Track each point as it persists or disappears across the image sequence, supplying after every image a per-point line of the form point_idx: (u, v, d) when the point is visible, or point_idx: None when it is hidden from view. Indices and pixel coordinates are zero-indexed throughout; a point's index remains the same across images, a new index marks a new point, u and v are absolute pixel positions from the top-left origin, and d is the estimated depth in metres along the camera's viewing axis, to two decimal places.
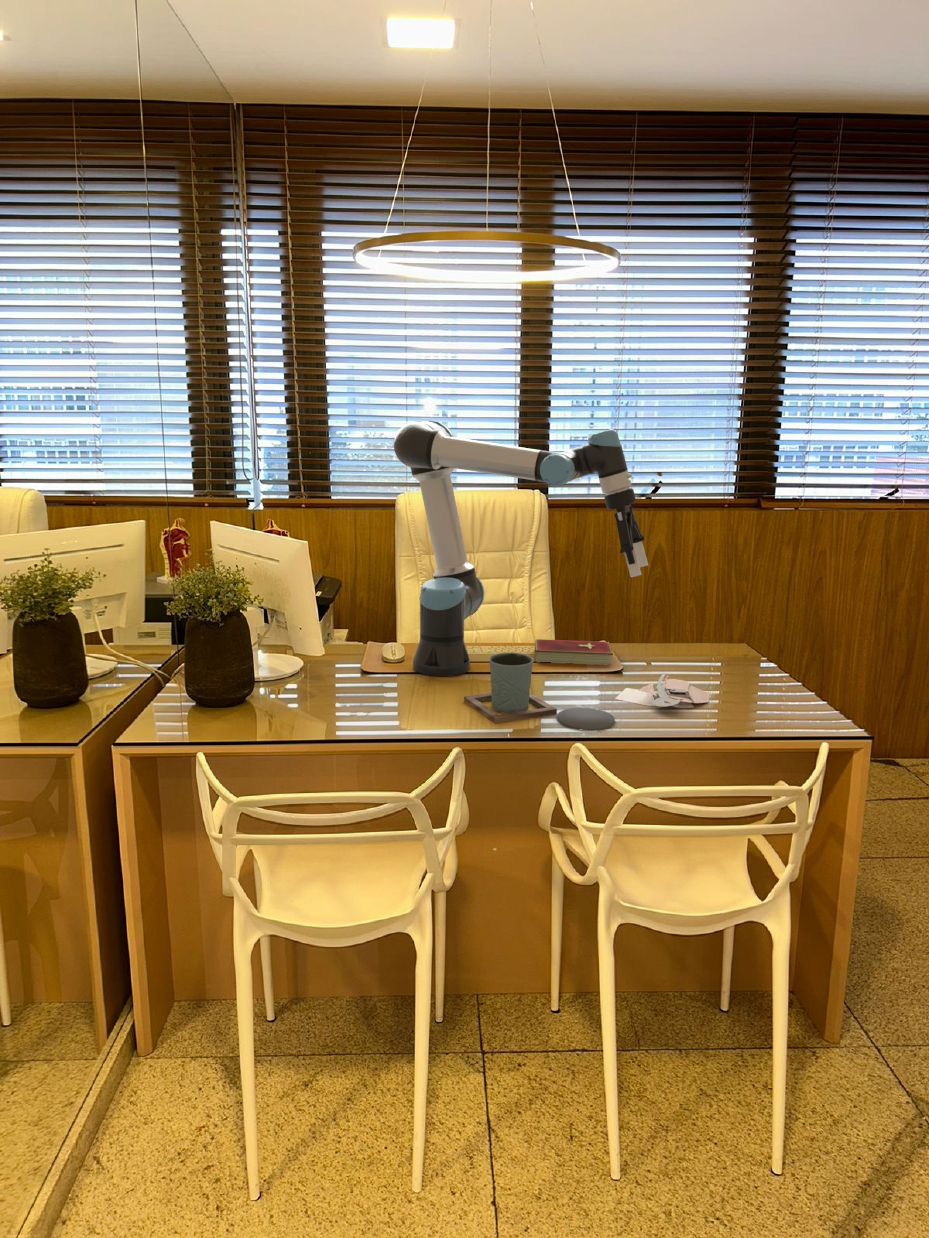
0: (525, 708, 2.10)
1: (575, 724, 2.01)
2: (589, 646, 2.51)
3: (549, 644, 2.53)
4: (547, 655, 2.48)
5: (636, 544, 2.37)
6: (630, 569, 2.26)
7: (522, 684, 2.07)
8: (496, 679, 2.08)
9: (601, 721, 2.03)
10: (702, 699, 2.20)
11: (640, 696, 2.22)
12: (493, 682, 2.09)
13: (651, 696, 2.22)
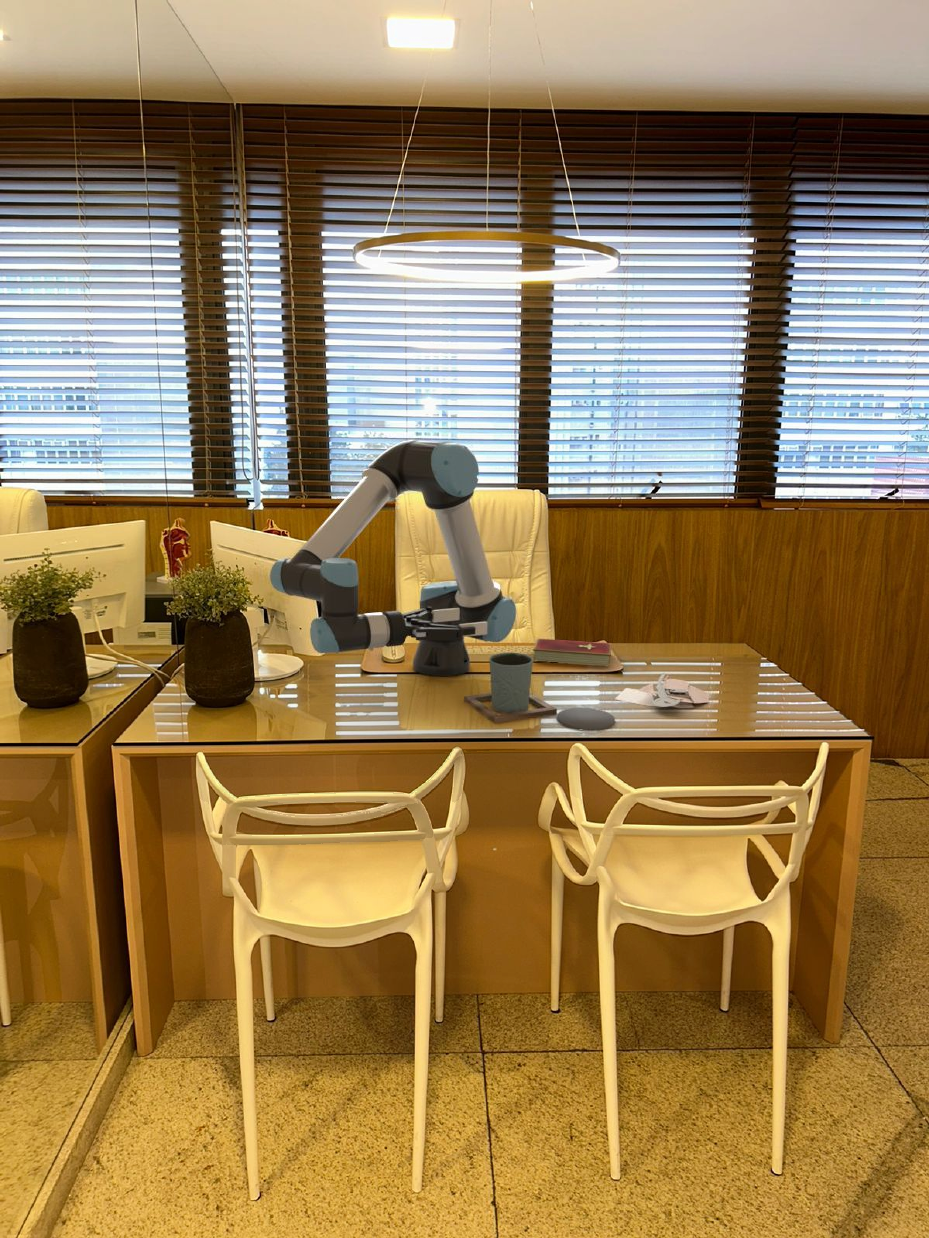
0: (525, 708, 2.10)
1: (575, 724, 2.01)
2: (589, 647, 2.50)
3: (549, 644, 2.53)
4: (545, 654, 2.48)
5: None
6: None
7: (522, 684, 2.07)
8: (496, 679, 2.08)
9: (601, 721, 2.03)
10: (702, 699, 2.20)
11: (640, 696, 2.22)
12: (493, 682, 2.09)
13: (651, 696, 2.22)
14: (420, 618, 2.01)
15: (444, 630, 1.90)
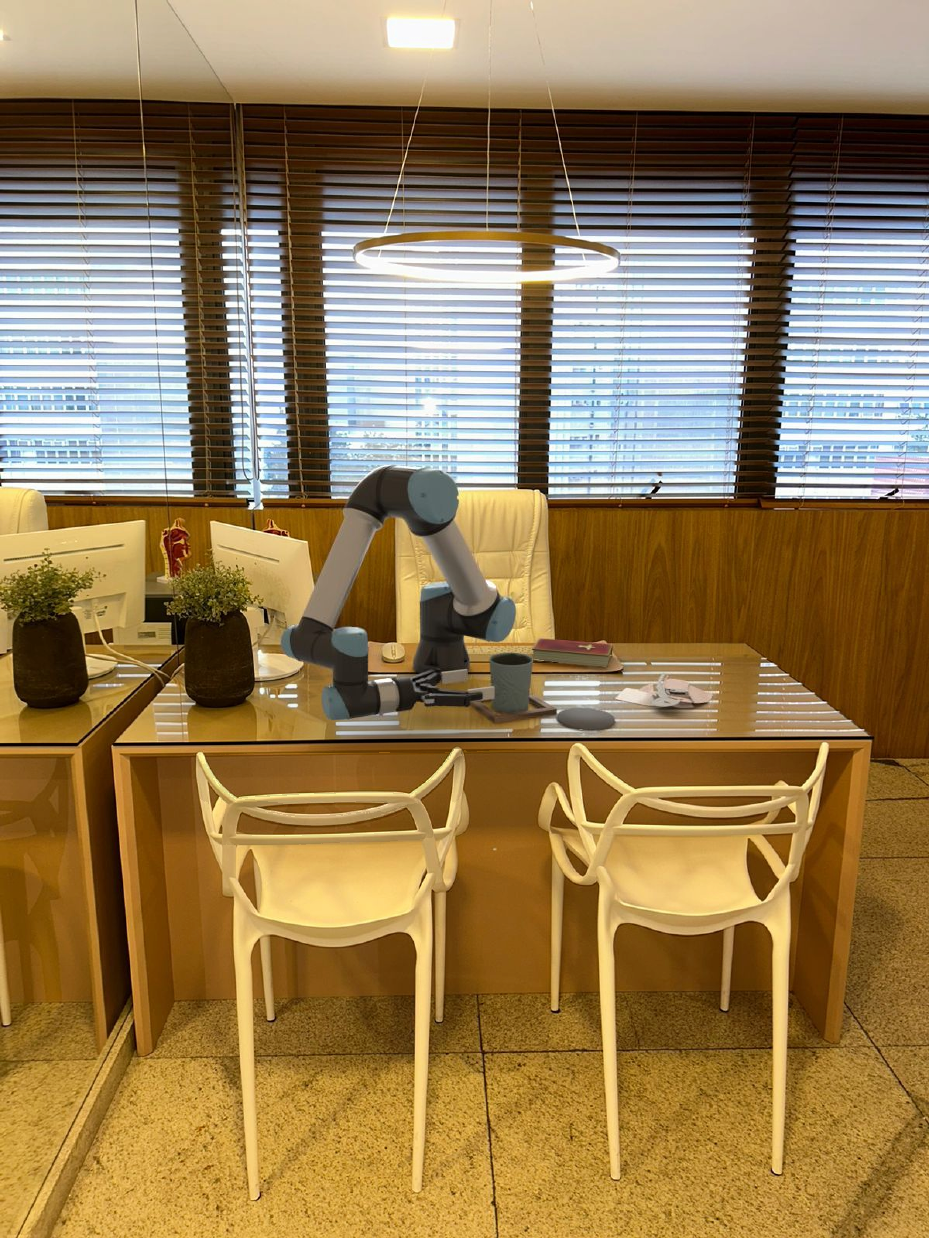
0: (525, 708, 2.10)
1: (575, 724, 2.01)
2: (588, 647, 2.50)
3: (549, 644, 2.54)
4: (544, 654, 2.49)
5: None
6: None
7: (522, 684, 2.07)
8: (496, 679, 2.08)
9: (601, 721, 2.03)
10: (702, 699, 2.20)
11: (640, 696, 2.22)
12: (493, 682, 2.09)
13: (651, 696, 2.22)
14: (429, 681, 2.05)
15: (452, 697, 1.95)
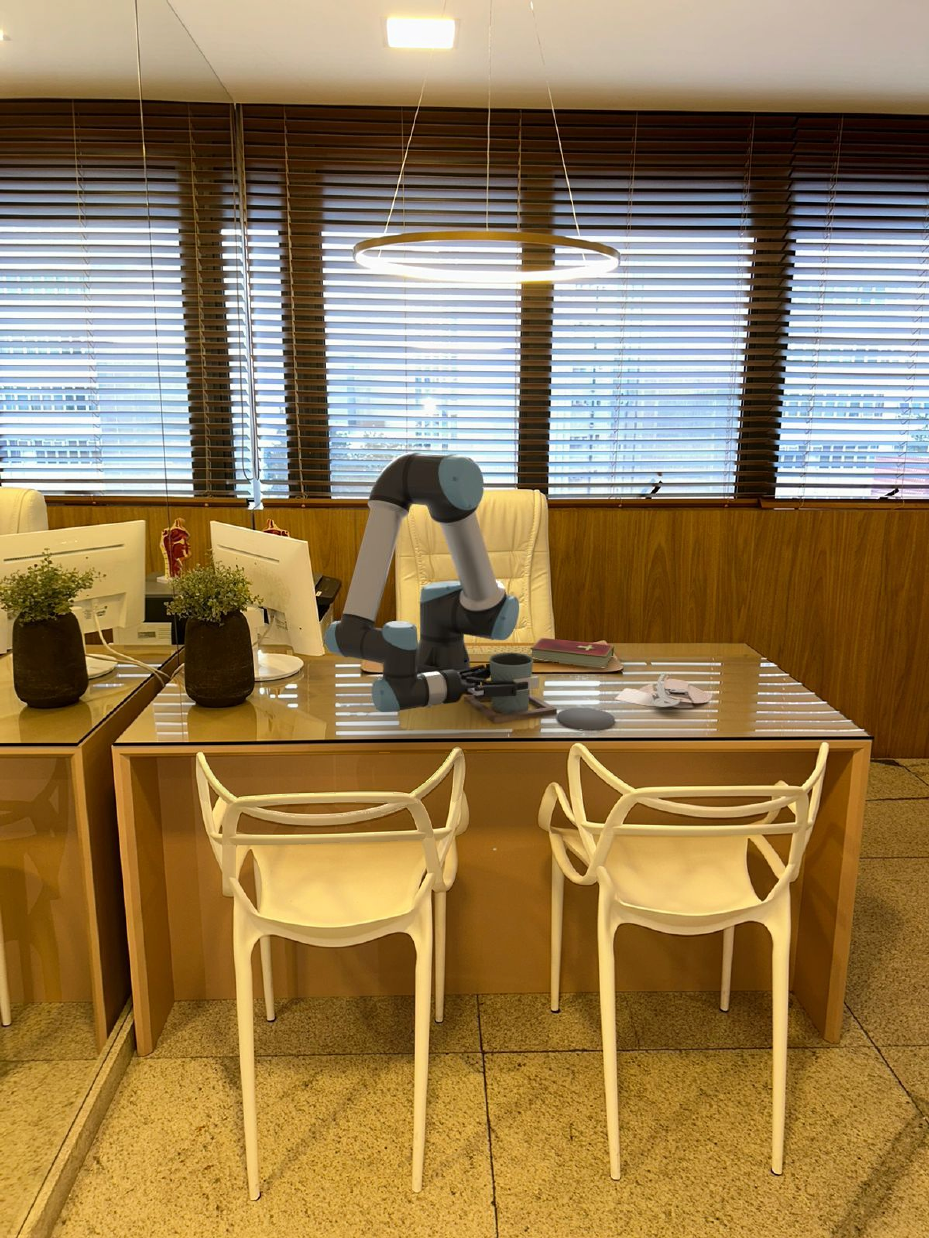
0: (525, 708, 2.10)
1: (575, 724, 2.01)
2: (587, 648, 2.49)
3: (550, 643, 2.54)
4: (542, 653, 2.49)
5: None
6: None
7: None
8: (496, 679, 2.08)
9: (601, 721, 2.03)
10: (702, 699, 2.20)
11: (640, 696, 2.22)
12: None
13: (651, 696, 2.22)
14: (476, 675, 2.10)
15: (500, 687, 2.01)
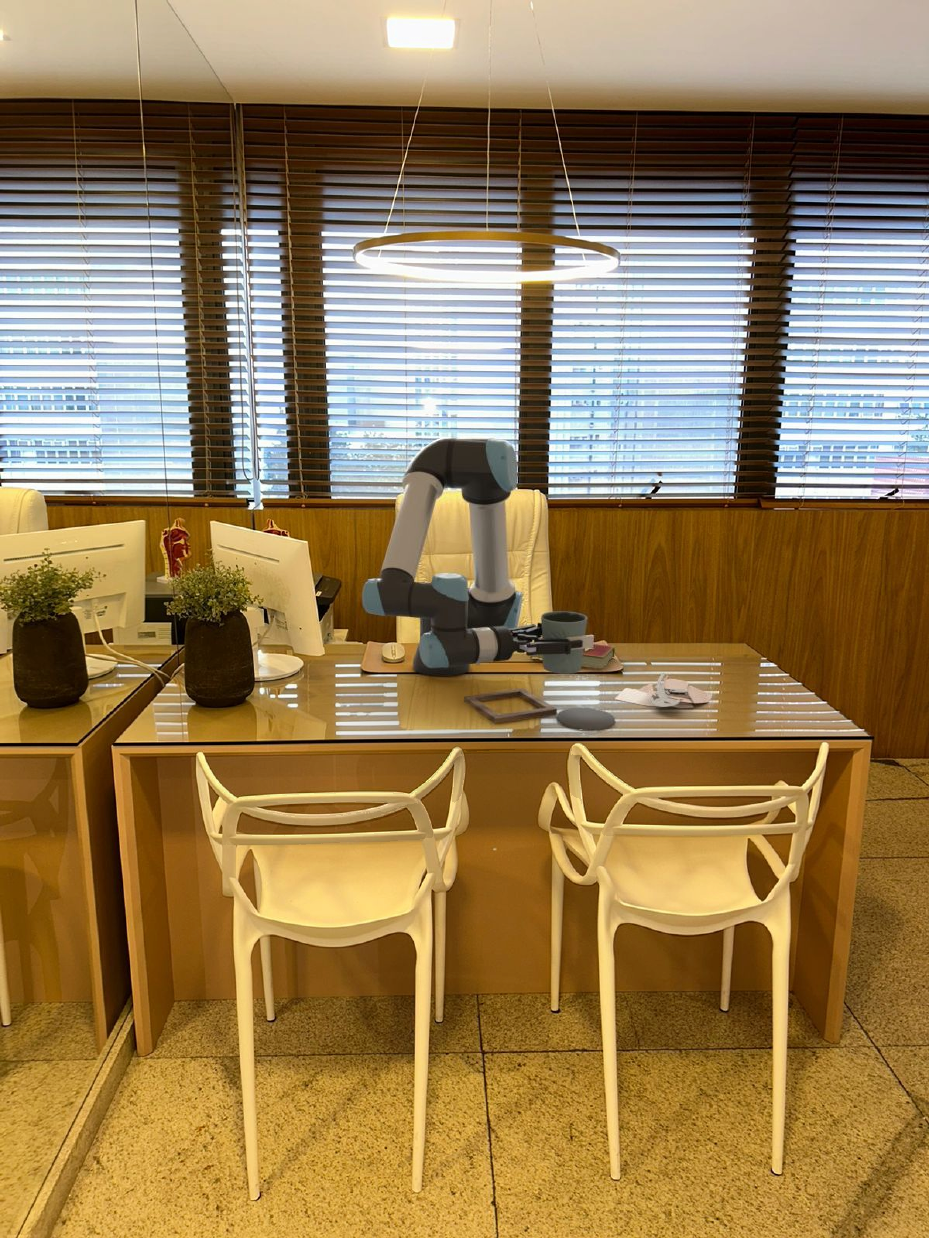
0: (578, 668, 2.01)
1: (575, 724, 2.01)
2: (587, 648, 2.49)
3: None
4: None
5: None
6: None
7: None
8: (548, 637, 1.98)
9: (601, 721, 2.03)
10: (702, 699, 2.20)
11: (640, 696, 2.22)
12: None
13: (650, 696, 2.22)
14: (528, 634, 2.01)
15: (554, 644, 1.92)
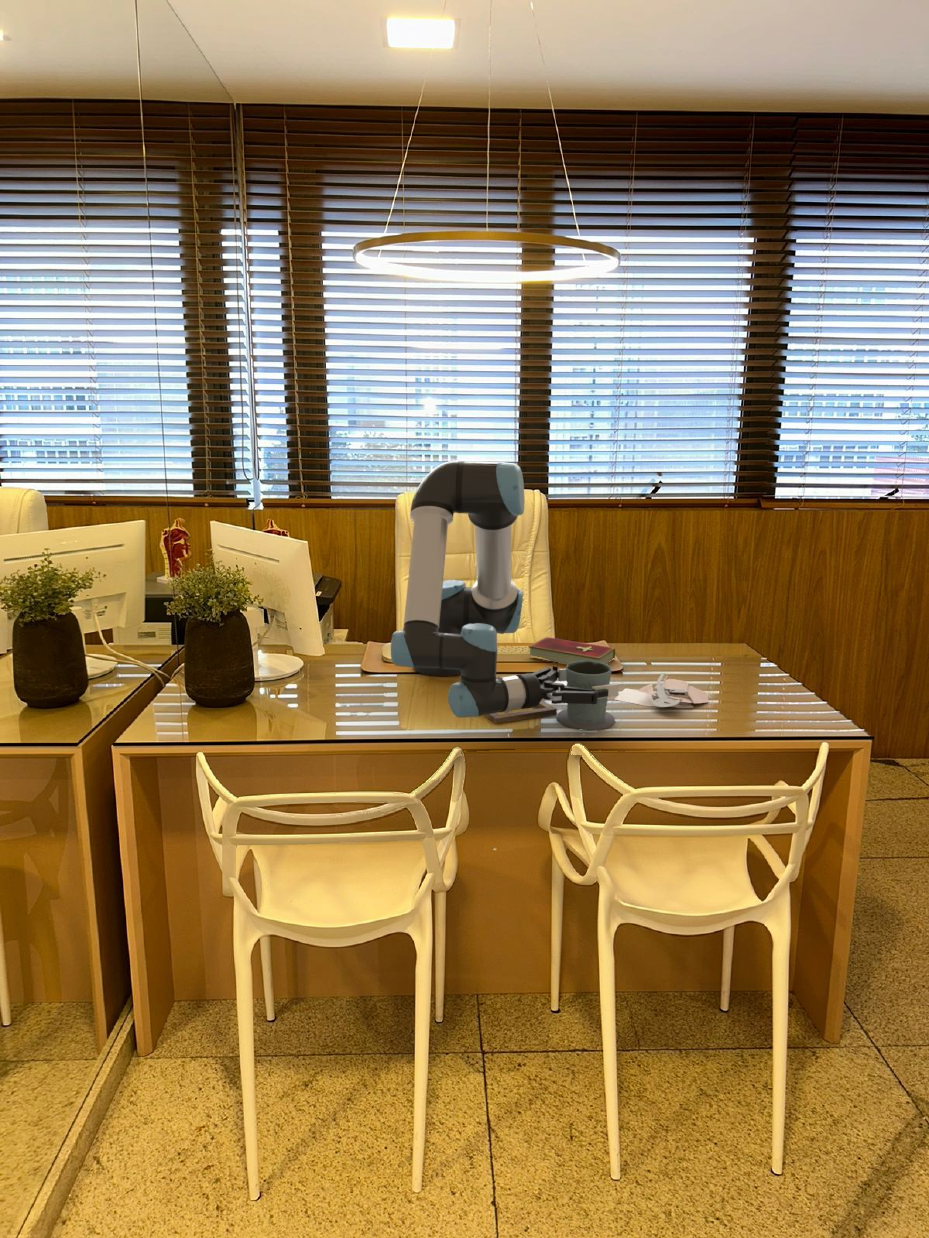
0: (603, 718, 2.03)
1: (575, 724, 2.01)
2: (585, 649, 2.48)
3: (550, 643, 2.55)
4: (540, 652, 2.50)
5: None
6: None
7: None
8: None
9: None
10: (702, 699, 2.20)
11: (639, 696, 2.22)
12: None
13: (650, 696, 2.22)
14: (549, 678, 2.03)
15: (580, 694, 1.92)
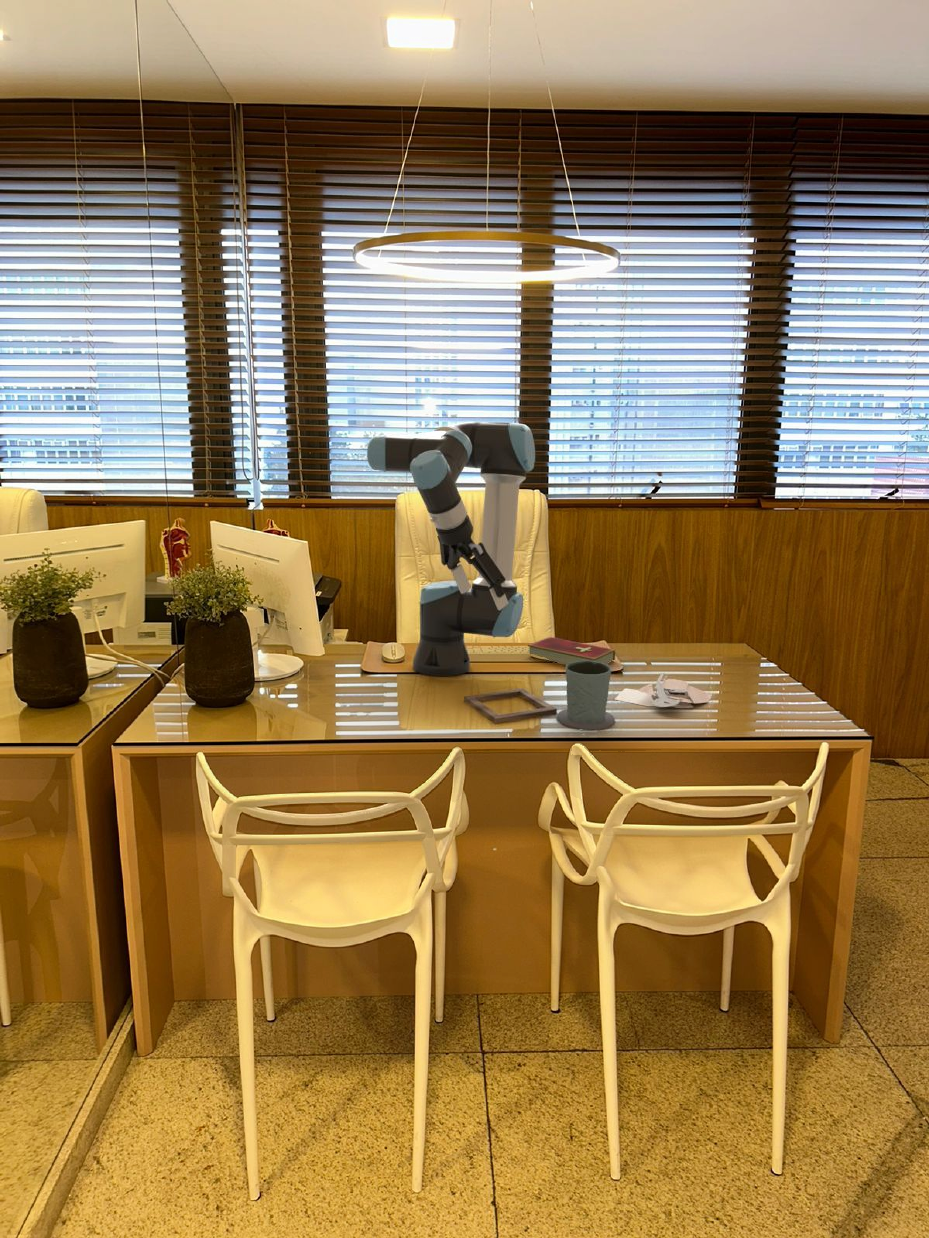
0: (603, 718, 2.03)
1: (575, 724, 2.01)
2: (584, 649, 2.48)
3: (551, 642, 2.55)
4: (538, 651, 2.51)
5: None
6: None
7: (601, 693, 2.00)
8: (574, 688, 2.00)
9: None
10: (702, 699, 2.20)
11: (639, 696, 2.22)
12: (570, 691, 2.02)
13: (650, 696, 2.22)
14: None
15: (495, 566, 1.91)
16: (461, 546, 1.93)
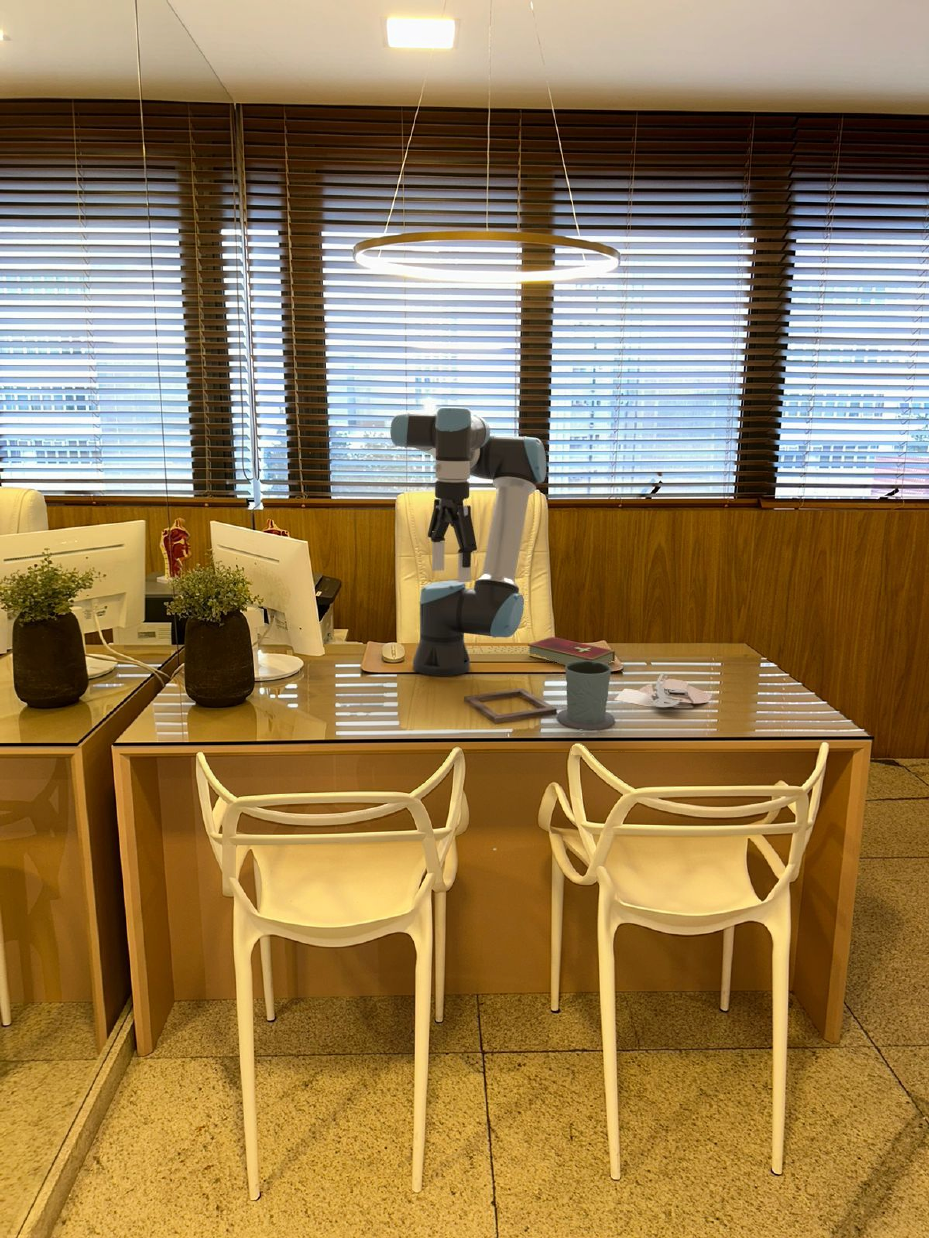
0: (603, 718, 2.03)
1: (575, 724, 2.01)
2: (583, 650, 2.47)
3: (552, 642, 2.55)
4: (538, 650, 2.52)
5: None
6: None
7: (601, 693, 2.00)
8: (574, 688, 2.00)
9: None
10: (701, 699, 2.20)
11: (639, 696, 2.22)
12: (570, 691, 2.02)
13: (650, 697, 2.22)
14: (447, 524, 2.03)
15: (472, 532, 1.92)
16: (451, 506, 1.96)
